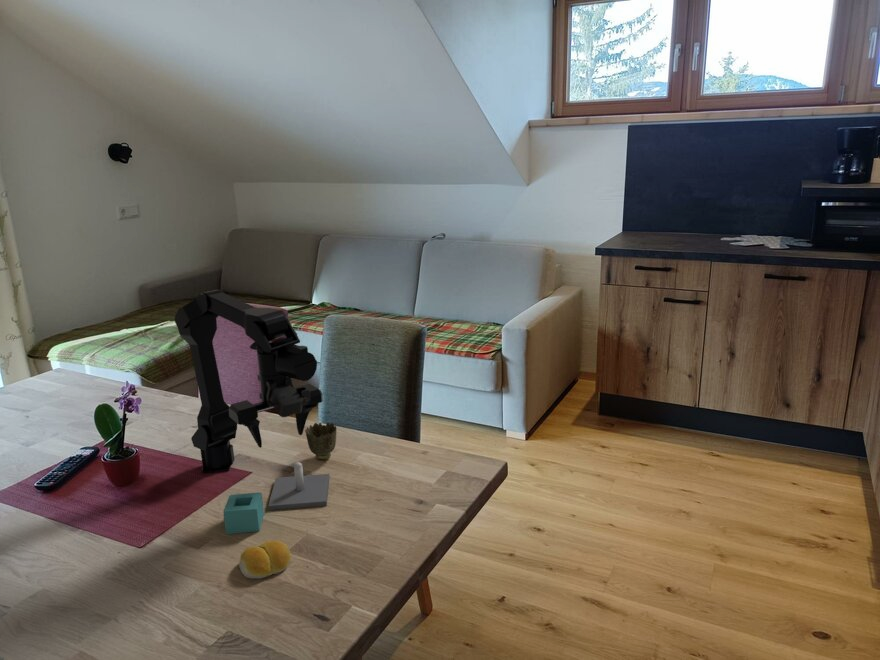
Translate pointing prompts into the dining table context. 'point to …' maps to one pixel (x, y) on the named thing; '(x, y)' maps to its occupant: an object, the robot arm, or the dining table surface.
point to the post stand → (299, 490)
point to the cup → (321, 440)
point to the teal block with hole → (243, 513)
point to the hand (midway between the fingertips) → (280, 440)
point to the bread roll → (264, 560)
